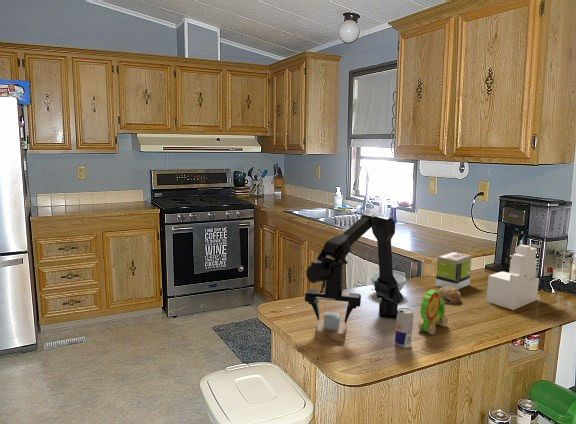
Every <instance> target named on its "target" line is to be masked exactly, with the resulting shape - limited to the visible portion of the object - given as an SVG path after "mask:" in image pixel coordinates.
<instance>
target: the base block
mask: <svg viewBox="0 0 576 424" xmlns="http://www.w3.org/2000/svg"><path fill="white" fill-rule="evenodd" d="M347 330H348V321H347V322H346V323H345V321H340V325H339V329H338V330H332V329H324V319H319V321H318V320H317V324H316V327H315V331H314V340H318V341H328V342H336V343H337V342H339V343H345V342H346V338H347V337H346V335H347Z"/></svg>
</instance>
